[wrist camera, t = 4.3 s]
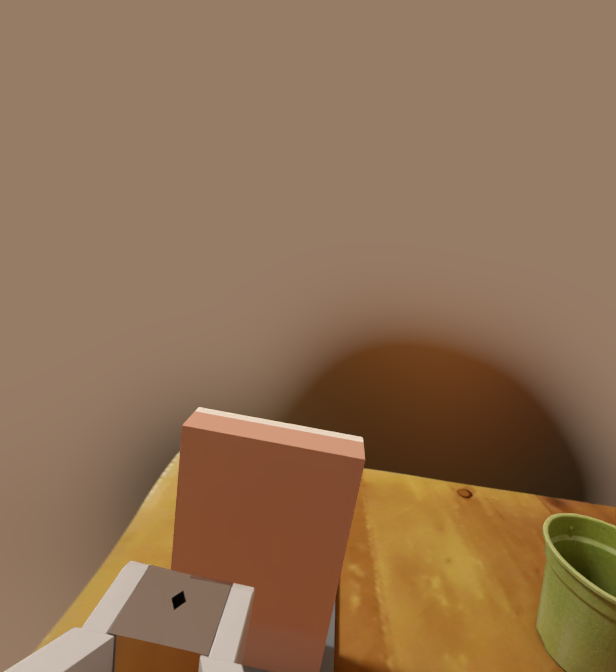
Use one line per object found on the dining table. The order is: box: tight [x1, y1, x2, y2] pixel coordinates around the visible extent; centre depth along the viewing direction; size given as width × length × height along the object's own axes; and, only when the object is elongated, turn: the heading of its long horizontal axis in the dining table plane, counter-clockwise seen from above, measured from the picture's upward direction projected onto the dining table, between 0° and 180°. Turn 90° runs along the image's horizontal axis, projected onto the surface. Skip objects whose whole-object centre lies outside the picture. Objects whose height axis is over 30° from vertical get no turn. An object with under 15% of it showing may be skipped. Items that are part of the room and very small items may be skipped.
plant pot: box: [536, 513, 616, 672], centre depth 28 cm, size 9×9×9 cm
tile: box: [171, 407, 365, 672], centre depth 23 cm, size 2×10×16 cm, turn 85°
